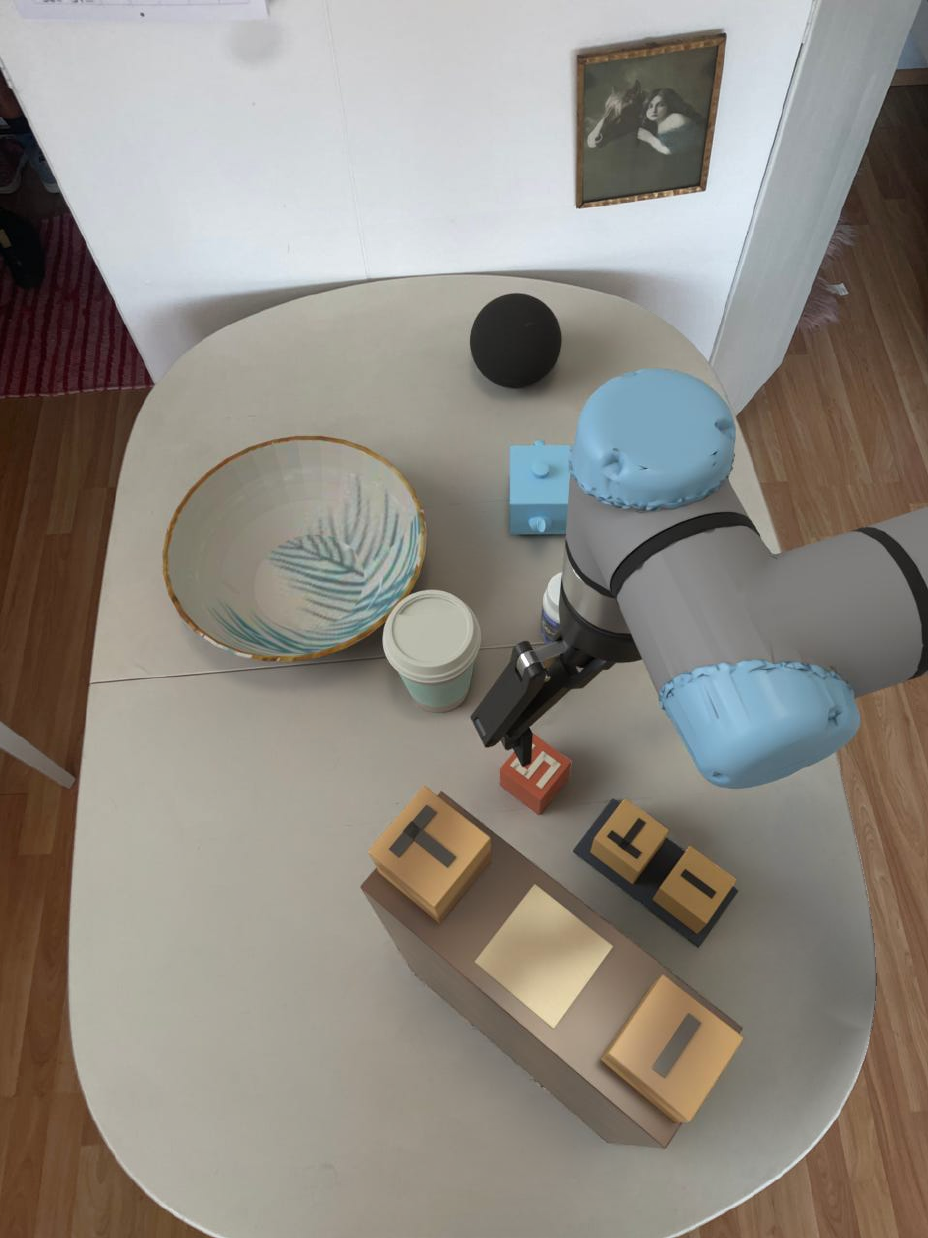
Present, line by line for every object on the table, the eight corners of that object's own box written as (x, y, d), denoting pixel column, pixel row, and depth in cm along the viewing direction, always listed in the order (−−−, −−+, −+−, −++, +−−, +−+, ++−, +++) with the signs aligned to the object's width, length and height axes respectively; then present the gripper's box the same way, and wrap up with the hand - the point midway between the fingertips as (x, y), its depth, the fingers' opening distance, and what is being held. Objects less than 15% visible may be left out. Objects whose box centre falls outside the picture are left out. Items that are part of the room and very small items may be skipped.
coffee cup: (498, 663, 95) (496, 604, 84) (460, 740, 92) (454, 688, 81) (418, 632, 97) (407, 570, 86) (379, 705, 94) (362, 650, 83)
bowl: (401, 457, 107) (393, 409, 100) (460, 659, 95) (456, 620, 88) (172, 513, 105) (147, 468, 98) (204, 725, 93) (179, 692, 86)
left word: (737, 891, 84) (750, 877, 80) (698, 948, 82) (709, 937, 78) (612, 799, 88) (618, 781, 84) (572, 851, 86) (576, 835, 82)
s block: (569, 777, 89) (572, 760, 85) (539, 815, 88) (540, 800, 84) (529, 748, 91) (530, 730, 87) (499, 785, 89) (499, 768, 85)
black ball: (453, 370, 112) (448, 305, 104) (519, 326, 115) (519, 258, 106) (511, 421, 109) (511, 358, 100) (578, 375, 111) (583, 309, 102)
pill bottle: (533, 643, 96) (535, 602, 88) (550, 603, 98) (553, 560, 90) (579, 659, 95) (585, 619, 87) (595, 619, 97) (602, 576, 89)
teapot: (569, 567, 100) (574, 526, 93) (509, 567, 100) (509, 527, 93) (566, 470, 105) (570, 425, 99) (509, 470, 106) (509, 426, 99)
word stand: (659, 1066, 78) (764, 1018, 46) (607, 1143, 76) (679, 1151, 43) (464, 905, 85) (435, 763, 52) (411, 971, 82) (347, 866, 50)
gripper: (768, 460, 62) (709, 616, 81) (407, 612, 58) (432, 739, 77) (837, 551, 59) (759, 691, 78) (460, 719, 55) (473, 824, 74)
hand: (596, 715), depth 78 cm, fingers open, 13 cm apart
